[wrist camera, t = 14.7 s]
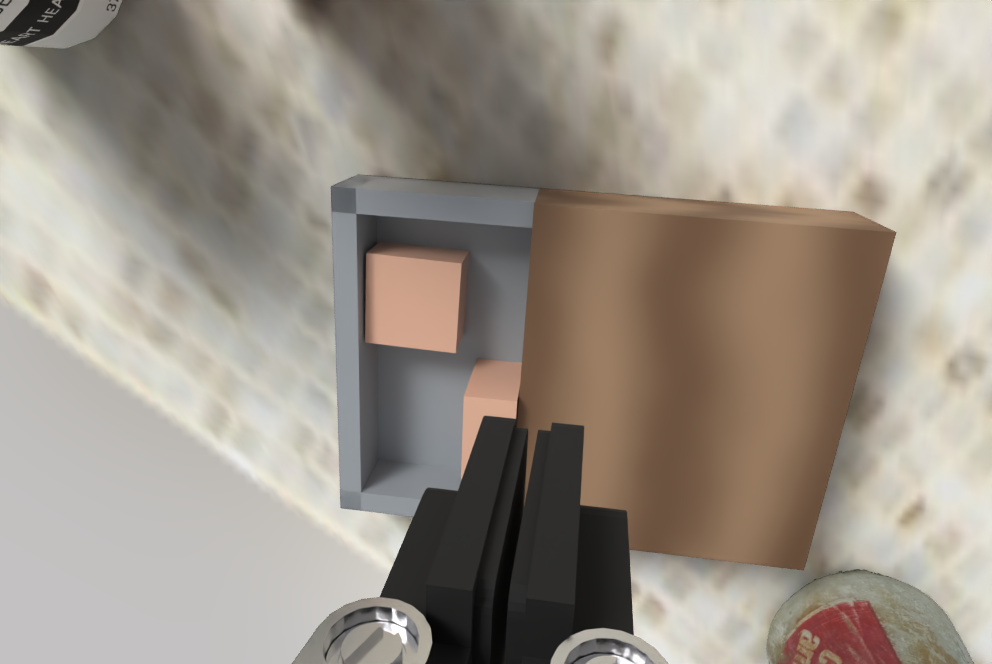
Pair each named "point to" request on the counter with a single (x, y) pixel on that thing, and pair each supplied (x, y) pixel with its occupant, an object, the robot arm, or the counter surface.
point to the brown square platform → (699, 361)
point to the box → (409, 371)
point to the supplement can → (54, 21)
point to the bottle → (863, 624)
